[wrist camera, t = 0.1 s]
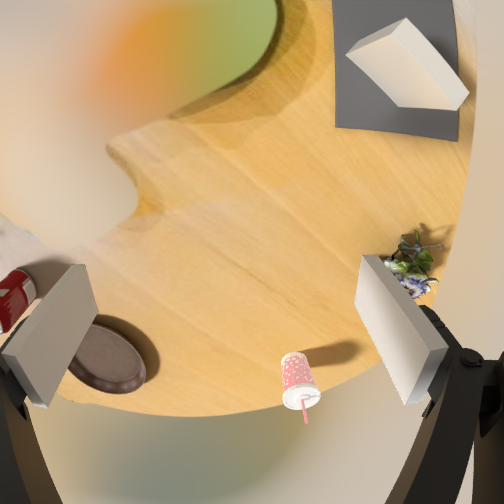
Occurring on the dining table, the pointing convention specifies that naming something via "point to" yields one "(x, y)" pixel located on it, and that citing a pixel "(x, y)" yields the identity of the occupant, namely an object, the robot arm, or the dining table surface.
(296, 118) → the dining table surface
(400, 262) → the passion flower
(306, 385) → the beverage cup
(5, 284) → the soda can
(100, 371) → the plant saucer
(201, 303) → the dining table surface
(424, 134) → the mat
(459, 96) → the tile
